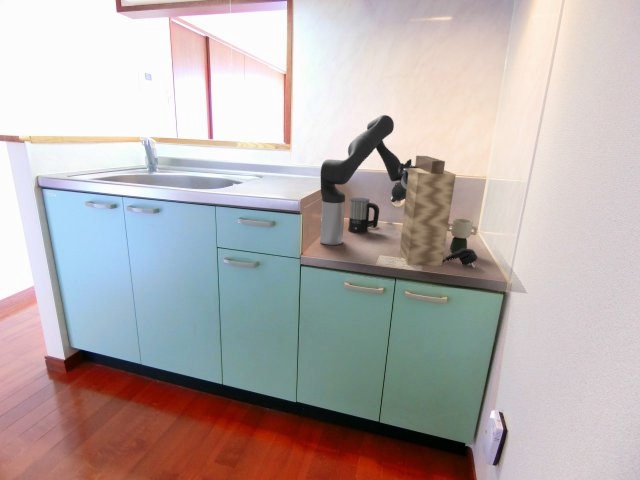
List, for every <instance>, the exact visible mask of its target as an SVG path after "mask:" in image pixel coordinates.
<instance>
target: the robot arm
mask: <svg viewBox="0 0 640 480" xmlns="http://www.w3.org/2000/svg"><path fill="white" fill-rule="evenodd" d="M366 126H367V127H366V130H365V131H363V132H361V133H360V134H359V135H358V136H356V137H355V138H354V139H353V140H352V141H351V142H350V143H349V145H348V148H347V154H348V157H347V158H346V159H343V160H339V159H325V160H324V161H323V162H322V164H321V167H320V168H321V169H320V195H321V216H320V217H321V219H320V236H319V237H320V240H319V243H320V244H324V245H329V246H336V245H341V244H343V241H344V223H345V221H344V220H345V208H346V207H345V205H346V204H345V203H346V195H345V194H344V192H342V191H340V190H339V189H338V188H337V187H336V185H341V186H343V185H346V184H347V183H348V182H349V181H350V179H351V178H352V177H353V175H354V174H355V173H356V171H357V169H358V168H359V167H360V166H361V164H362V163H364V161H366V160H367V158H368V157H369V156H370V155H371V154H372V153H373V152H374V150H375V149H376V151H377V153H378V155H379V156H380V158H381V160H382V162H383V164H384V167H385V169H386V172H387V174H388V176H389V179H390V181H391V182H397V183H396V184H395V185H394V186H393V187H392V189H391V197H392V198H393V200H394V201H396V202H401V201H403V200H404V201H405V199H406V190H407V181H408V172H409V168H418V167H416V166H415V165H413V164H412V158H411V159H410V158H409V159H408V160H407V161H406V162H405V163H402V162H401V161H400V159H399V158H398V156H397V155H395V154H394V153H393V152H392V151H391V150H390V149H389V148H388V147H387V146H386V145H385V143H384V139H385V138H387V137H389V136H390V135H391V134H392V133H393V131H394V128H395V123H394V120H393V118H392V117H391V116H390V115H387V114H383V115H380V116H378V117H376V118H375V119H373V120H371V121H370V122H368V123H367V125H366Z"/></svg>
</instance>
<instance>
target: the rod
mask: <svg viewBox="0 0 640 480" xmlns="http://www.w3.org/2000/svg"><path fill="white" fill-rule="evenodd" d="M445 165H446V161H445V160H442V159H439V158H435V157H431V156H428V155H416V156H415V164H414V166H416V167H418V168H420V169H422V170H424V171H427V172H429V173H431V174H443V173H444V170H445Z"/></svg>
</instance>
